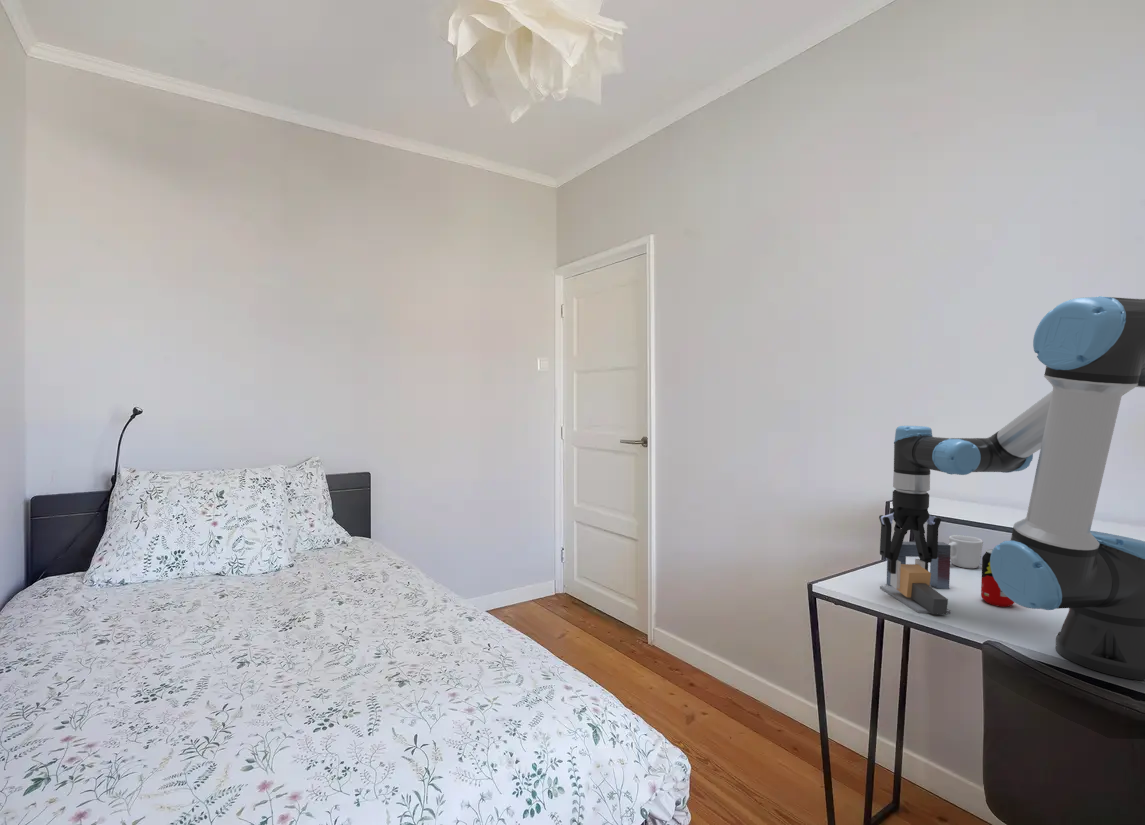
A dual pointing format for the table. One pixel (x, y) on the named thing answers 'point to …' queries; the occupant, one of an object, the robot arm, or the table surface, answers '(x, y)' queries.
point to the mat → (905, 599)
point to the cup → (965, 551)
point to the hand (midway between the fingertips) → (907, 586)
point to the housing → (937, 566)
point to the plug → (921, 588)
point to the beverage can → (992, 585)
